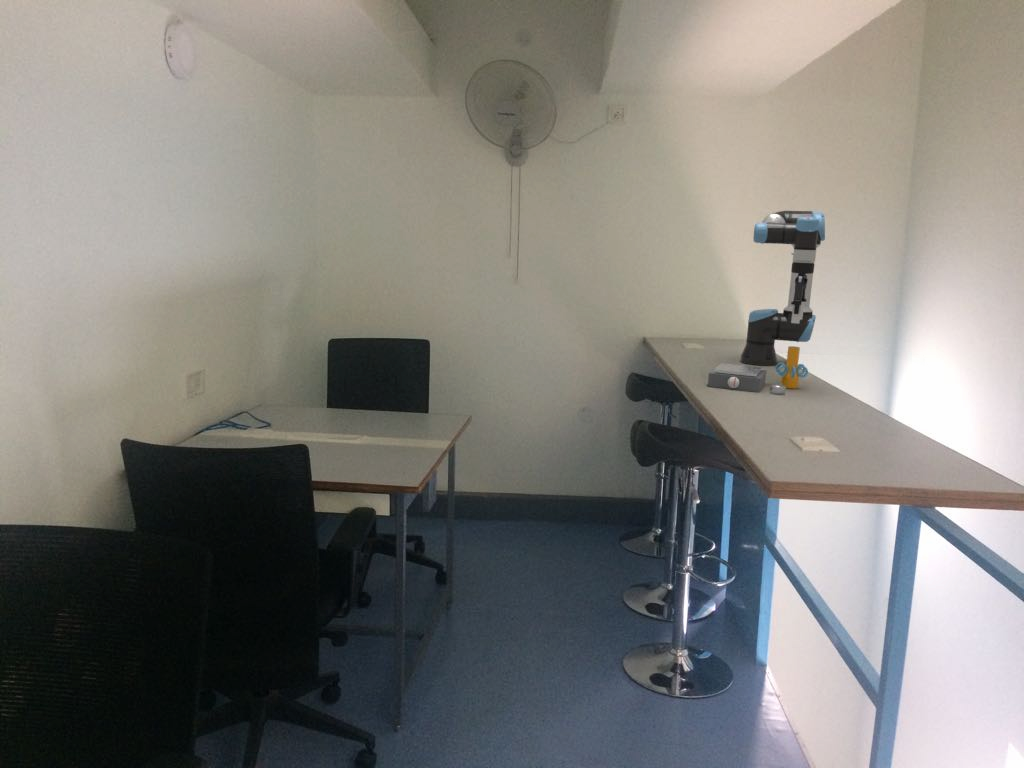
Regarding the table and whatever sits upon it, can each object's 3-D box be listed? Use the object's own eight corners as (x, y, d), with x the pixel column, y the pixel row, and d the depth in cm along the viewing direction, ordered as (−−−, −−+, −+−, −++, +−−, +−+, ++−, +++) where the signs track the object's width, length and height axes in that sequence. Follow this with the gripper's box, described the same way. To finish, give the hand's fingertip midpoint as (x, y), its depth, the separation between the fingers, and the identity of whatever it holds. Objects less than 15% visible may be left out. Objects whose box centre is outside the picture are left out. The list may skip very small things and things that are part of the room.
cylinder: (807, 391, 270) (812, 350, 266) (777, 389, 272) (781, 348, 268) (801, 385, 281) (806, 345, 278) (772, 383, 283) (776, 343, 280)
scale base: (716, 378, 289) (717, 365, 288) (764, 383, 282) (766, 370, 281) (707, 386, 272) (708, 373, 271) (758, 392, 265) (760, 379, 264)
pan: (719, 375, 287) (721, 363, 286) (760, 380, 281) (762, 367, 280) (712, 382, 274) (714, 369, 272) (755, 387, 267) (756, 373, 266)
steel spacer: (770, 391, 268) (771, 383, 268) (785, 393, 266) (786, 385, 266) (769, 394, 264) (770, 385, 263) (784, 395, 262) (784, 387, 261)
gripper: (795, 260, 279) (789, 317, 284) (789, 262, 257) (782, 323, 262) (816, 261, 276) (810, 318, 281) (812, 263, 254) (805, 325, 259)
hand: (796, 321), depth 271 cm, fingers open, 13 cm apart
